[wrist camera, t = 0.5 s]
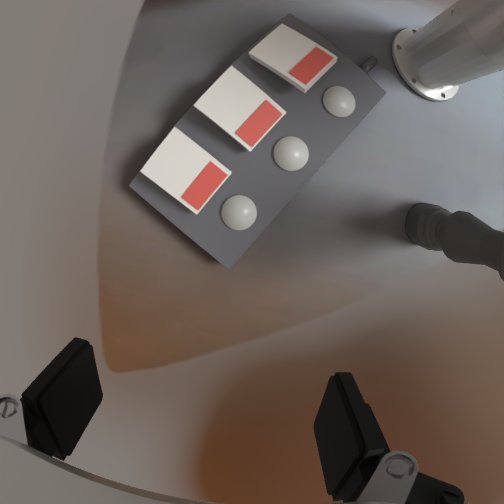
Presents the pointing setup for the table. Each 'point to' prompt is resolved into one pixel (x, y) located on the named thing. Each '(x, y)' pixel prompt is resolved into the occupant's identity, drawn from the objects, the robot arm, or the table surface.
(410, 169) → the table surface
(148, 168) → the rocker
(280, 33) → the rocker
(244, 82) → the rocker
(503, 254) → the candle holder
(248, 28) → the table surface
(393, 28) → the table surface
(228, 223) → the power strip
